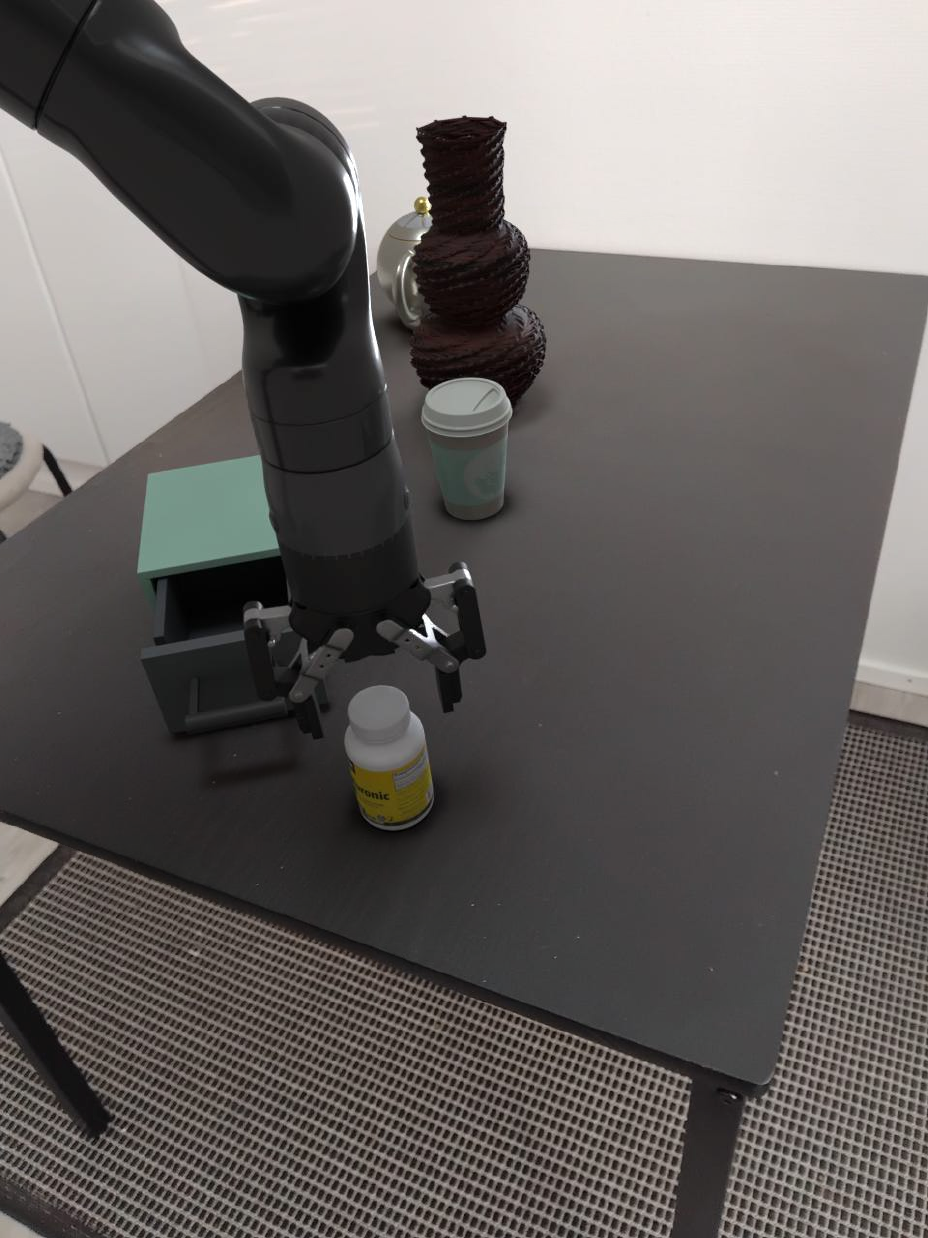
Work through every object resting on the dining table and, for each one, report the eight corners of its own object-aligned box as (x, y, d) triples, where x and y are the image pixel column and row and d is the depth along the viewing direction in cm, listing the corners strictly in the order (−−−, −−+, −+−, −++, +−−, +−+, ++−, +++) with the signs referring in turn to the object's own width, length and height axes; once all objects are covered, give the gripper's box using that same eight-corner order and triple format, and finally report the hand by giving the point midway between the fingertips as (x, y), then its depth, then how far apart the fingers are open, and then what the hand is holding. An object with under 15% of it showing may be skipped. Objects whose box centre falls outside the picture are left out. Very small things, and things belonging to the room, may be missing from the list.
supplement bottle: (344, 802, 70) (320, 704, 64) (404, 762, 72) (386, 664, 66) (389, 847, 67) (368, 749, 60) (450, 803, 69) (436, 705, 63)
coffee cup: (462, 539, 94) (451, 427, 86) (416, 501, 99) (402, 394, 92) (534, 507, 97) (529, 396, 89) (485, 472, 103) (477, 366, 95)
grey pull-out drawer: (335, 751, 73) (316, 675, 68) (166, 785, 71) (135, 709, 66) (315, 592, 88) (298, 520, 83) (175, 618, 86) (150, 546, 82)
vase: (416, 445, 108) (379, 155, 89) (416, 382, 120) (384, 115, 101) (554, 432, 108) (547, 139, 89) (541, 371, 120) (532, 100, 101)
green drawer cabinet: (328, 632, 85) (307, 542, 78) (169, 662, 83) (136, 572, 77) (314, 533, 97) (296, 448, 90) (175, 558, 95) (147, 473, 89)
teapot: (409, 296, 141) (395, 177, 131) (498, 302, 137) (491, 179, 127) (356, 350, 129) (336, 223, 118) (452, 358, 124) (440, 227, 114)
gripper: (454, 455, 57) (476, 659, 68) (211, 498, 56) (271, 699, 66) (481, 524, 52) (500, 736, 62) (210, 574, 50) (276, 782, 61)
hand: (382, 717), depth 64 cm, fingers open, 8 cm apart
